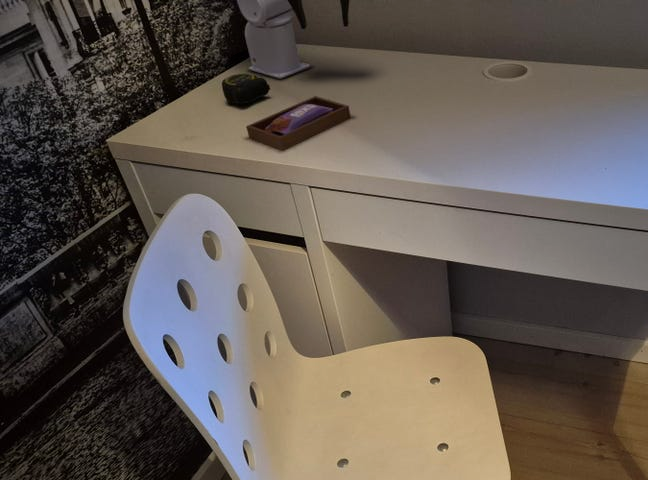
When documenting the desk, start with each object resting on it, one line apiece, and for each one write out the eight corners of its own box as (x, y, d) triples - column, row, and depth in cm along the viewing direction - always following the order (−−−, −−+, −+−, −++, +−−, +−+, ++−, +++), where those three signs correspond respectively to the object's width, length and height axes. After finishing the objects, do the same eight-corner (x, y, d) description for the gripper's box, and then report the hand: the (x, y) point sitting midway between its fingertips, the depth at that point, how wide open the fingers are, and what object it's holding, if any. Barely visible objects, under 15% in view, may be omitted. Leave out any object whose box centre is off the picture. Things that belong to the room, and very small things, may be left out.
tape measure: (242, 110, 117) (236, 89, 115) (218, 102, 121) (212, 81, 118) (272, 98, 121) (267, 77, 119) (248, 90, 125) (243, 69, 122)
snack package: (310, 98, 115) (333, 103, 113) (312, 109, 116) (335, 114, 114) (262, 122, 107) (286, 128, 105) (265, 134, 109) (288, 140, 107)
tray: (282, 150, 105) (279, 138, 104) (249, 138, 109) (245, 126, 108) (350, 117, 114) (348, 105, 113) (317, 107, 118) (315, 95, 116)
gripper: (354, -68, 115) (366, 17, 125) (270, -63, 115) (288, 22, 124) (350, -60, 110) (363, 28, 119) (263, -55, 110) (282, 33, 119)
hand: (325, 26), depth 121 cm, fingers open, 7 cm apart
